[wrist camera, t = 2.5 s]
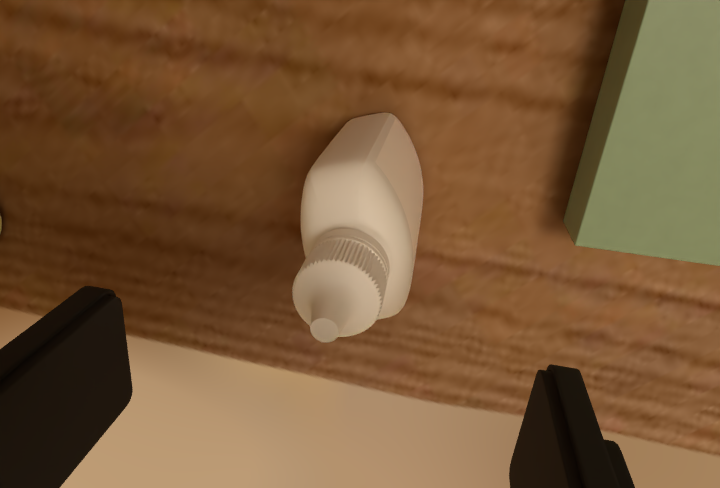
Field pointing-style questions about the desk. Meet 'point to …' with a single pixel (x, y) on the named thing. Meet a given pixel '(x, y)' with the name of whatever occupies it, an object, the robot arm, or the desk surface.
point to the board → (655, 138)
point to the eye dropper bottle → (359, 228)
